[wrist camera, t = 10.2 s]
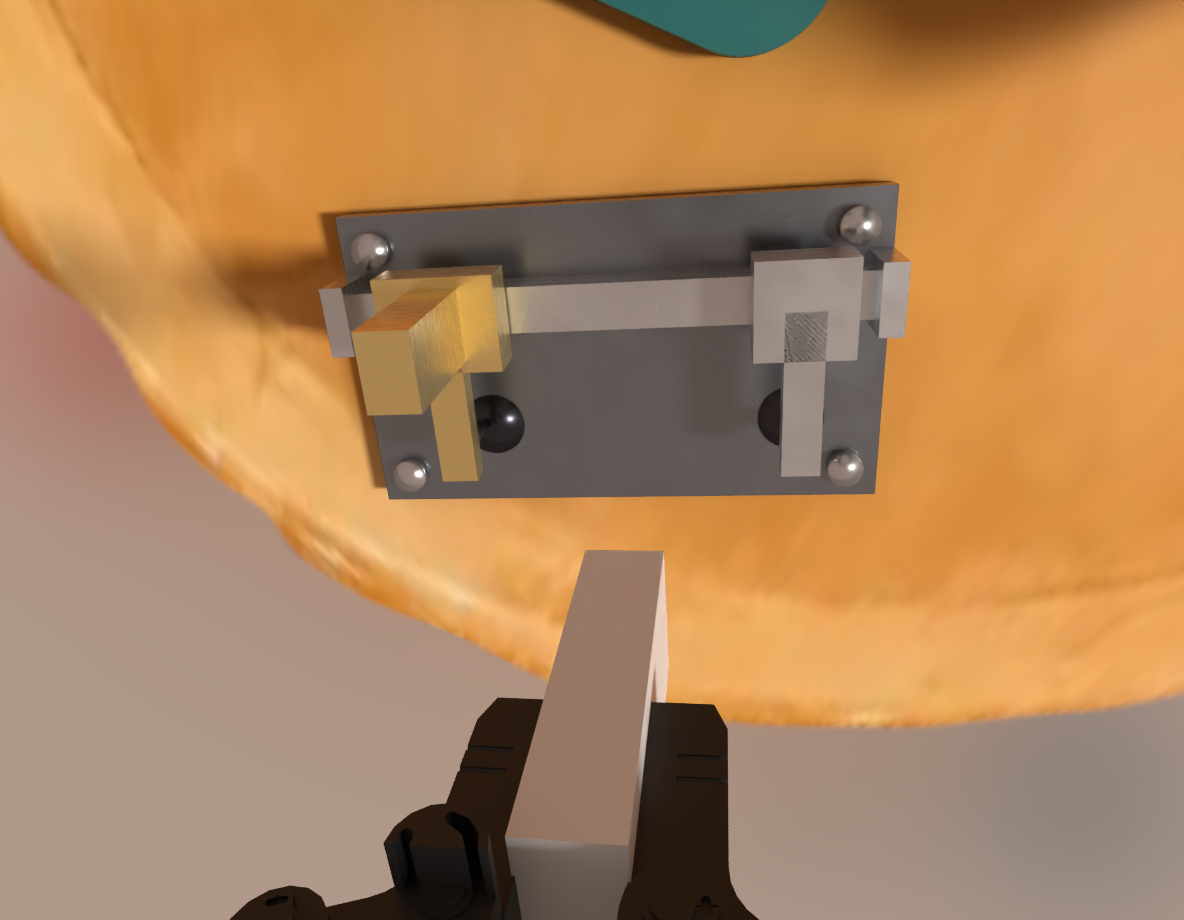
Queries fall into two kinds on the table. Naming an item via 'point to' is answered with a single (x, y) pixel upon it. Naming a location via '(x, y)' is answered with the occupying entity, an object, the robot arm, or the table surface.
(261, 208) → the table surface
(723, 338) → the bolt plate
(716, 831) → the robot arm
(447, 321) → the sliding leg
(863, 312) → the grey long bar piece
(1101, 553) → the table surface
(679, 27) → the bracket
